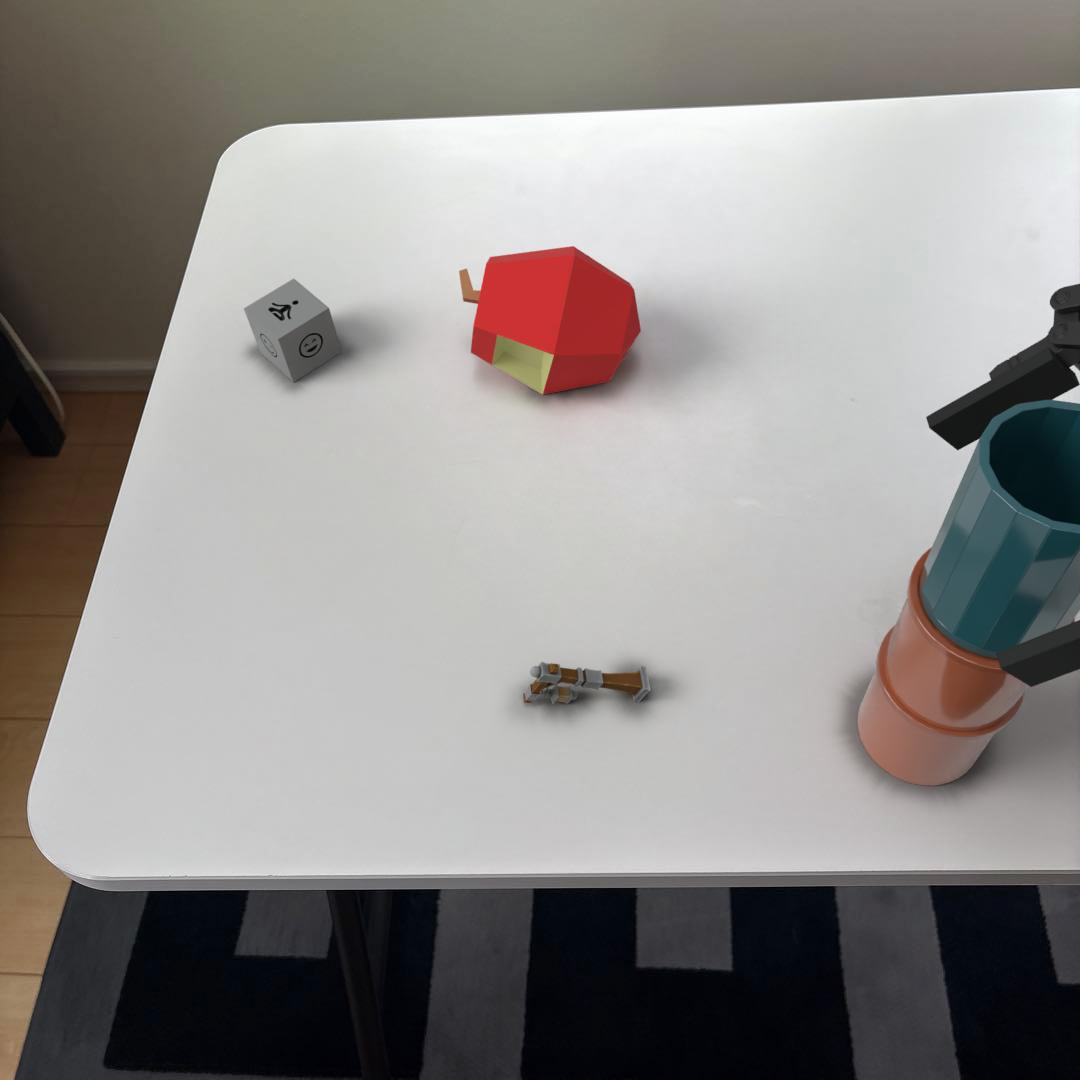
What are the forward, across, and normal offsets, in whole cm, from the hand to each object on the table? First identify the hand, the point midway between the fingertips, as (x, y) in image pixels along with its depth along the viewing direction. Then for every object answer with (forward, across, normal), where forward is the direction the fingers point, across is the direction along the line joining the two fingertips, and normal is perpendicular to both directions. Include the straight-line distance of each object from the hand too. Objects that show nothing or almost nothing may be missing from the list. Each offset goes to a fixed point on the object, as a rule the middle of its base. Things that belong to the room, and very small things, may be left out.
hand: (974, 543), depth 51 cm
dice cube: (+45, +37, +14) cm, 60 cm away
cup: (+2, 0, -5) cm, 6 cm away
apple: (+29, +34, -1) cm, 45 cm away
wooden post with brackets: (+28, +3, -2) cm, 29 cm away
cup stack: (+13, 0, -17) cm, 21 cm away
